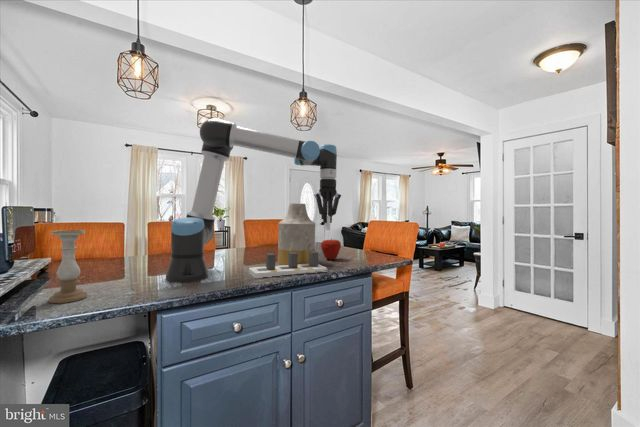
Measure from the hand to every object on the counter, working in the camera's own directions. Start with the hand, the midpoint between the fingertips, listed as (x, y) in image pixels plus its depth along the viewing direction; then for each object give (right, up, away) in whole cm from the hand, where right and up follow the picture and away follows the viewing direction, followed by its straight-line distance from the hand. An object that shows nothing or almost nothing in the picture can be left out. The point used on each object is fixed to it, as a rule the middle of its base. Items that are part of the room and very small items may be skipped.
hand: (327, 230), depth 137 cm
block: (-24, -16, -11) cm, 31 cm away
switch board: (-17, -18, -7) cm, 26 cm away
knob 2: (-15, -16, -6) cm, 23 cm away
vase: (-15, -18, +12) cm, 27 cm away
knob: (-6, -16, -2) cm, 17 cm away
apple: (+2, -18, +26) cm, 32 cm away
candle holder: (-78, -18, -49) cm, 94 cm away
